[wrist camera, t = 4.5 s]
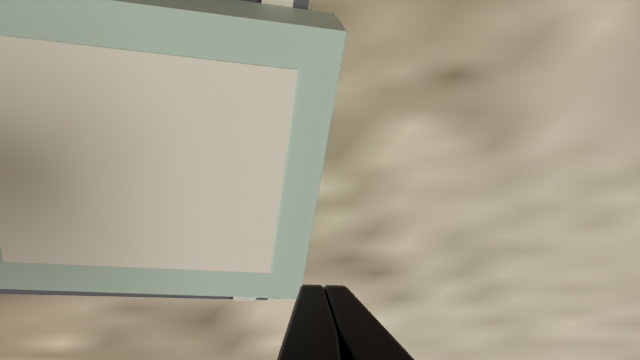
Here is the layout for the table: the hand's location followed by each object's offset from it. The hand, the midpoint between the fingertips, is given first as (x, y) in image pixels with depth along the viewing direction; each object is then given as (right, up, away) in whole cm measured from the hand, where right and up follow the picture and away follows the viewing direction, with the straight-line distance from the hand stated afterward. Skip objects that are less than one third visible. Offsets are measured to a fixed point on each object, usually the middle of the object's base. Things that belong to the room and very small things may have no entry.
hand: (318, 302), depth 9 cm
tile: (0, +3, +5) cm, 6 cm away
